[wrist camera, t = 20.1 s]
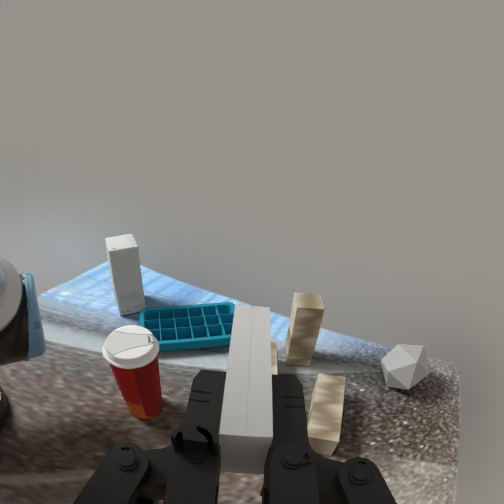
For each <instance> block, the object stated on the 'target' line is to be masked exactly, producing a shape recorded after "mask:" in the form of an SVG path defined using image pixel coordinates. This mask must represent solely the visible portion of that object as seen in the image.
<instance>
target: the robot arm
mask: <svg viewBox="0 0 504 504" xmlns="http://www.w3.org/2000/svg"><path fill="white" fill-rule="evenodd" d="M45 350H46V343H45V338H44V333H43V328H42V323H41V318H40V312H39V307H38V301H37V295H36V289H35V283H34V278H33V276H32V275H31V274H29V273H28V274H24V273H20V274H18V272H17V270H16V269H15V268H14V266H13V265H12V264H11V263H10V262H9V261H7V260H5V259H4V258H1V257H0V366H1V365H5V364H10V363H14V362H19V361H23V360H25V361H29V360H30V359H31V358H34V357H38V356H41V355H42V354H43V353H44V352H45ZM7 414H8V401H7V397H6V395H5V393H4V391H3V389H2V388H1V386H0V430H1V428H2V426H3V425H4V423H5V420H6V418H7ZM171 440H172V445H171V446H168V447H166V448H161V449H153V450H143V449H142V448H140V447H139V446H137V445H134V444H130V443H126V444H119V445H117V446H114V447H113V448H112V449H111V450H110V451H109V452H108V454H107V455H106V457H105V458H104V459H103V461H102V462H101V464H100V465H99V467H98V468H97V470H96V471H95V472H94V474H93V475H92V477H91V478H90V480H89V481H88V483H87V484H86V485H85V487H84V488H83V490H82V491H81V493H80V494H79V496H78V497H77V498H76V500H75V501H74V503H73V504H158V502H159V500H164V502H163V504H217V503H218V493H219V477H220V471H222V472H234V473H249V474H263V473H264V484H263V487H262V490H261V494H260V496H262V504H397V503H396V501H395V500H394V498H393V496H392V494H391V492H390V490H389V488H388V486H387V484H386V482H385V480H384V479H383V477H382V475H381V473H380V471H379V469H378V467H377V466H376V465H375V464H374V463H373V462H372V461H370V460H368V459H366V458H360V457H358V458H351V459H349V460H347V461H346V462H339V461H335V460H330V459H327V458H324V457H321V456H320V455H318V454H317V453H316V452H315V451H314V450H313V449H312V448H311V446H310V443H309V440H308V430H307V421H306V412H305V403H304V394H303V386H302V384H301V383H300V381H299V380H298V378H297V376H296V375H273V374H272V369H271V333H270V307H257V306H244V305H235V310H234V318H233V326H232V333H231V341H230V349H229V357H228V365H227V372H221V371H211V370H200V372H199V373H198V374H197V375H196V376H195V378H194V379H193V383H192V388H191V392H190V396H189V401H188V405H187V410H186V414H185V419H184V424H183V425H180V426H179V427H178V428H177V429H175V430H174V432H173V434H172V436H171Z"/></svg>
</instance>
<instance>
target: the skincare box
mask: <svg viewBox="0 0 504 504" xmlns="http://www.w3.org/2000/svg"><path fill="white" fill-rule="evenodd" d="M105 240H106V249H107V256H108V263H109V270H110V275H111V281H112V286H113V291H114V296H115V300H116V304H117V307H118V311H119V314H120V316H122V315H128V314H133V313H138V312H140V311H141V310H142V309H145V308H146V305H145V298H144V292H143V285H142V277H141V269H140V261H139V251H138V246H137V243H136V242H135V239H134V237H133V235H132V234H127V235H122V236H116V237H111V238H106V239H105Z"/></svg>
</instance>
